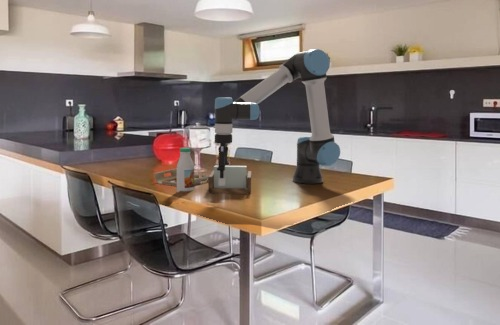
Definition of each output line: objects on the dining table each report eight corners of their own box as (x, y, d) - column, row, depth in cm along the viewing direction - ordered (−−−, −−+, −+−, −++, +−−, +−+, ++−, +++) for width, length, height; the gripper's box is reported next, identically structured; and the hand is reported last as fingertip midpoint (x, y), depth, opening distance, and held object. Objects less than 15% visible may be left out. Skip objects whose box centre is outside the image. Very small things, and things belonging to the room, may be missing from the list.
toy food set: (153, 183, 197) (153, 168, 196) (178, 178, 213) (177, 164, 212) (193, 189, 185) (193, 173, 183) (216, 183, 200) (216, 168, 199)
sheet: (246, 190, 176) (246, 165, 174) (246, 192, 172) (246, 167, 170) (214, 189, 176) (214, 165, 174) (213, 191, 172) (213, 166, 171)
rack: (251, 189, 185) (251, 171, 184) (250, 197, 170) (250, 177, 168) (212, 188, 186) (212, 170, 184) (208, 196, 170) (208, 176, 169)
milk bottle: (177, 194, 172) (177, 149, 169) (176, 191, 180) (175, 147, 177) (195, 194, 174) (195, 148, 171) (193, 190, 182) (192, 146, 179)
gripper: (217, 131, 183) (217, 177, 186) (211, 135, 158) (211, 188, 161) (233, 131, 183) (233, 177, 186) (230, 136, 158) (229, 188, 161)
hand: (223, 182), depth 173 cm, fingers open, 13 cm apart
